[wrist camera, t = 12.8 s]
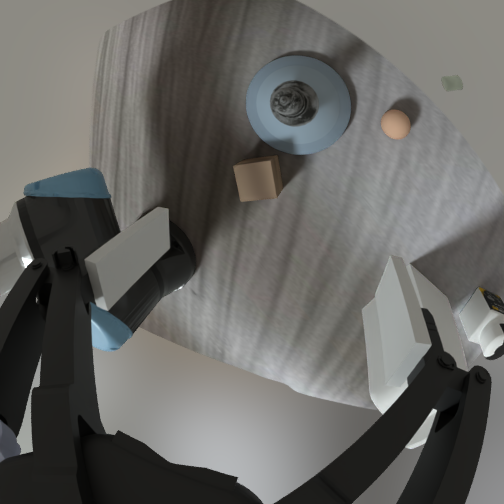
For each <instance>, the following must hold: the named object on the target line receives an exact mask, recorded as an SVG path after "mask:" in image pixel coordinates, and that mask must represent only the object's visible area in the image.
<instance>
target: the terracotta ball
mask: <svg viewBox="0 0 504 504" xmlns="http://www.w3.org/2000/svg"><path fill="white" fill-rule="evenodd" d="M381 126H382V129H383V131H384V133H385V134H386V135H387V136H389V137H390V138H392V139H403V138H405V137H406V136H407V135H408V134H409V132H410V128H411V125H410V121H409V118H408V117H407V116H406V114H405V113H403V112H402V111H400V110H395V109H393V110H389V111H387V112H385V113H384V115H383V116H382V119H381Z"/></svg>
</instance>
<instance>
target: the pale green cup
mask: <svg viewBox="0 0 504 504" xmlns="http://www.w3.org/2000/svg"><path fill="white" fill-rule="evenodd" d="M441 81H442V85H443V87H444V89H445V90H446V91H455V90H462V89H463V83H462V80H461V78H460V77H459V76H458V75H454V76H444V77H442V79H441Z"/></svg>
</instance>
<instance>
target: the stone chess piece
mask: <svg viewBox="0 0 504 504" xmlns="http://www.w3.org/2000/svg"><path fill="white" fill-rule="evenodd" d="M270 108H271V111H272V113H273V115H274V116H275V118H276V119H277V120H279V121H280V122H281V123H283V124H285V125H288V126H292V127H298V126H303V125H306V124H307V123H309V122H311V121H312V120H313V119H314V118H315V116H316V114H317V113H318V109H319V99H318V96H317V94H316V92H315V91H314V89H313V88H312V87H310V86H309V85H308V84H306V83H304V82H302V81H297V80H291V81H286V82H283V83H281V84H280V85H278V86H277V87H276V88H275V89H274V90H273V92H272V94H271V98H270Z"/></svg>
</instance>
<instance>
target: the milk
mask: <svg viewBox="0 0 504 504" xmlns="http://www.w3.org/2000/svg"><path fill="white" fill-rule="evenodd" d="M406 268H407V271H408V274H409V276H410V279H411V282H412V284H413V287H414V290H415V293H416V296H417V298H418V301H419V304H420V307H421V308H426V309H428V310H429V312H430V313H431V314H432V315H433V317H434V320H435V323H436V324H435V325H436V326H437V329H438V331H437V332H439V336H440V339H441V342H442V345H443V349H444V351H446V352H447V353H449V354H450V355H451V356H452V357H453V358H454V359H455V361H456V364H457V367H458V368H460V369H462V370H465V371H467V372H468V368H467V363H466V359H465V355H464V350H463V347H462V343H461V339H460V335H459V332H458V328H457V325H456V322H455V318H454V315H453V312H452V309H451V306H450V303H449V300H448V298H447V297H446V296H445V295H444V294H443V293H442V292H441V291H440V290H439V289H438V288H437V287H436V286H435V285H433V284H432V283H431V282H430V281H429V280H428V279H427V278H426V277H425V276H424V275H422V274H421V273H420V272H419V271H418V270H417V269H416V268H414V267H413V266H412V265H411V264H410V263H409V264H408V265H407V266H406ZM362 315H363V323H364V332H365V341H366V352H367V363H368V377H369V392H370V396H371V399H372V401H373V402H374V404H375V405H376V407H377V408H378V409H379V411H380V412H381V413H382V414H384V413H385V412H386V411H387V410H388V409H389V408H390V406H391V405H392V404H393V403H394V402H395V401H396V400H397V399H398V397H399V396H400V395H401V394H402V393H403V392H404V390H405V389H406V388H407V387H408V383H407V379H406V381H405V382H404V383H403V384H402V386H401V387H396V386H387V385H385V372H384V360H383V350H382V341H381V333H380V325H379V318H378V311H377V305H376V298H374V299H373V300H372V301H370V302H369V303H368V304H367V305H366V306H365V307H364V308H363V309H362ZM436 412H437V410H435V409H433V410H432V411H431V413H430V414H429V416H428V417H427V418H426V420H425V421H424V423H423V424H422V426H421V427H420V428H419V430H418V431H417V432H416V434H415V435H414V436H413V438H412V439H411V440H410V441H409V443H408V444H407V445H406V446H405V447H406V448H409V449H413V448H415V447H418V446H420V445H422V444H424V443H426V440H427V438H428V435H429V432H430V429H431V427H432V424H433V421H434V418H435V415H436Z"/></svg>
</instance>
